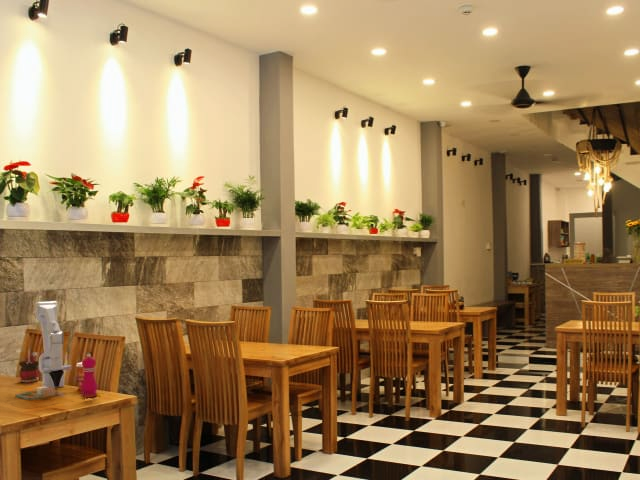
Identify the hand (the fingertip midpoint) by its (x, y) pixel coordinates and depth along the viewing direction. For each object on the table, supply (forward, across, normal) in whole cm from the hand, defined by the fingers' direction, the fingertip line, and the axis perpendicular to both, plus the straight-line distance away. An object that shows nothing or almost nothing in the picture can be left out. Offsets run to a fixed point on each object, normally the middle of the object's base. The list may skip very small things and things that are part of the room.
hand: (56, 386), depth 328 cm
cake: (+4, +10, +50) cm, 51 cm away
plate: (+4, -6, -3) cm, 8 cm away
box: (+4, -14, -3) cm, 15 cm away
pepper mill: (+4, +6, -20) cm, 21 cm away
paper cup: (+4, +12, -5) cm, 13 cm away
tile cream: (+2, -7, 0) cm, 7 cm away
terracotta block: (+2, -7, -6) cm, 9 cm away
